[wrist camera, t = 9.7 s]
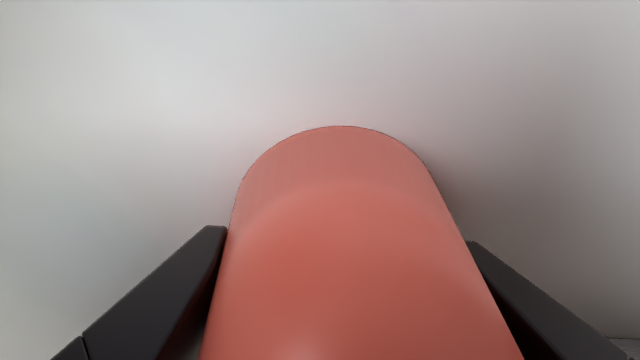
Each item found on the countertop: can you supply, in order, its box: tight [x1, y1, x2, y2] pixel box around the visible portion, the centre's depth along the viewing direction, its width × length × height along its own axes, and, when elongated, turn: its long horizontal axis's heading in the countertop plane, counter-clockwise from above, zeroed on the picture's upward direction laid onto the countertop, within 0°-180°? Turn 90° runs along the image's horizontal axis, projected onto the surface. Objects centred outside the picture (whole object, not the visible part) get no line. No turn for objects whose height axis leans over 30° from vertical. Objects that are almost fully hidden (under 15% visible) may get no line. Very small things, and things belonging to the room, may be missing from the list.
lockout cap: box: [197, 126, 524, 360], centre depth 7 cm, size 5×5×6 cm
